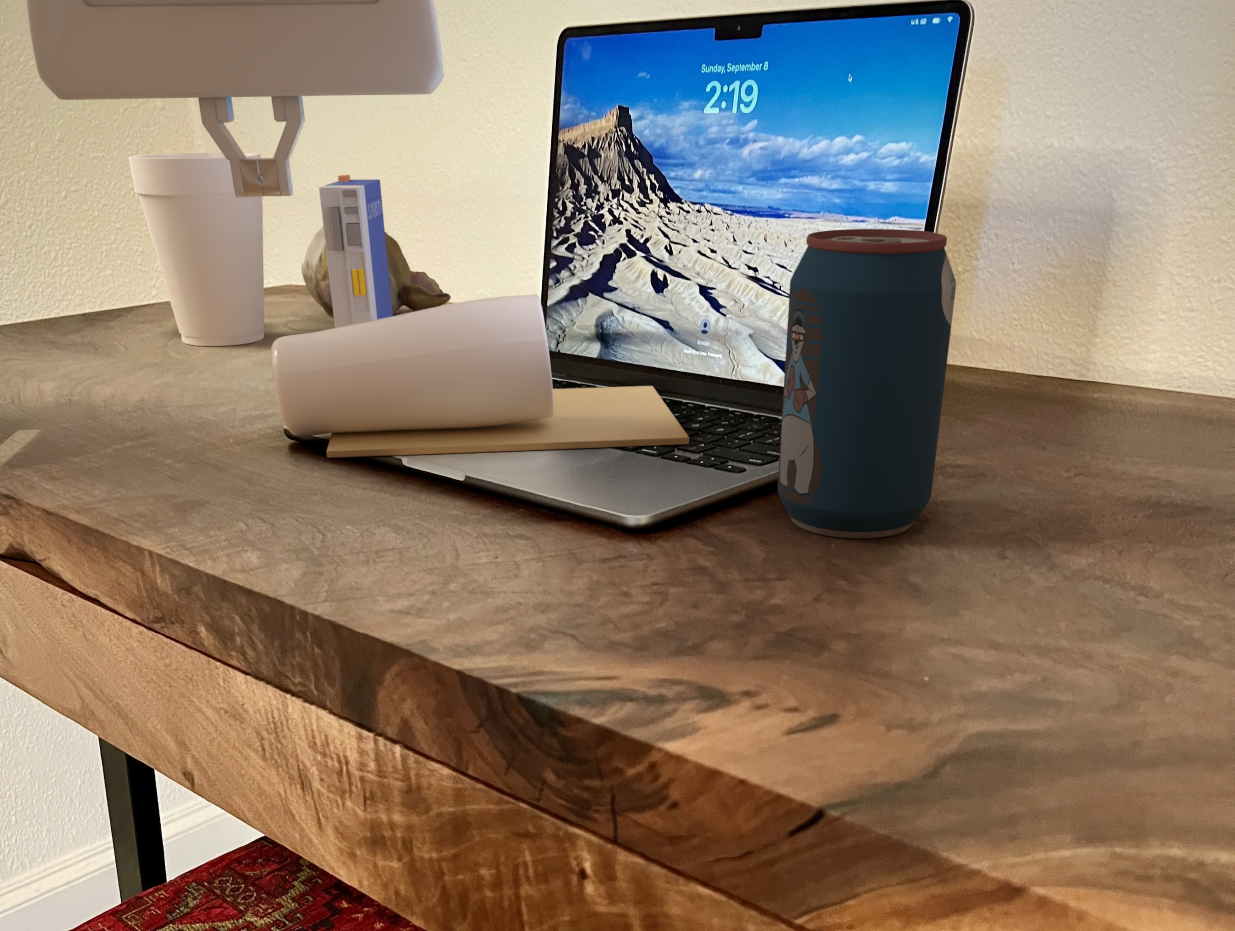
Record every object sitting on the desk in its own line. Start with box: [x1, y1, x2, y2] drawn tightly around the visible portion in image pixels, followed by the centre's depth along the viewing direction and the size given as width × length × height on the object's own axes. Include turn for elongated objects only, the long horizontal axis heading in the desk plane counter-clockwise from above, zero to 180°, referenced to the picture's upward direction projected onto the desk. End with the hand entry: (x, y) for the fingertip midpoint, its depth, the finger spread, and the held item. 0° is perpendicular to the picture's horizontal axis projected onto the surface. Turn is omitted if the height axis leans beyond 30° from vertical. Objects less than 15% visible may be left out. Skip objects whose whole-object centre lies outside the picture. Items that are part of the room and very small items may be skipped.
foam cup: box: [128, 151, 265, 347], centre depth 98 cm, size 10×9×13 cm
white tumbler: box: [270, 293, 554, 438], centre depth 71 cm, size 7×7×15 cm
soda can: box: [777, 228, 957, 539], centre depth 55 cm, size 7×7×12 cm
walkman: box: [318, 174, 393, 328], centre depth 90 cm, size 8×3×12 cm, turn 179°
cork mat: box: [326, 385, 690, 459], centre depth 76 cm, size 20×14×1 cm
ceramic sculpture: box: [300, 226, 452, 319], centre depth 107 cm, size 11×9×15 cm
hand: (264, 195), depth 68 cm, fingers closed
